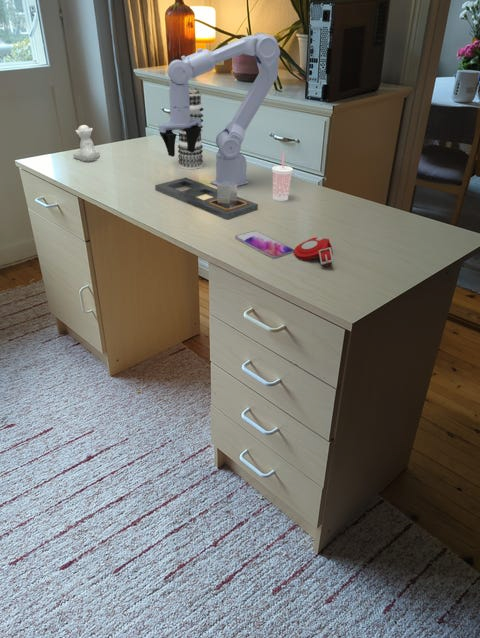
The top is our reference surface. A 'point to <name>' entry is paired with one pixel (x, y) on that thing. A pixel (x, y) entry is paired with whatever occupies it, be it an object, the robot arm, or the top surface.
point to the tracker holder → (315, 250)
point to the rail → (207, 204)
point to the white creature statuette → (86, 145)
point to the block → (227, 194)
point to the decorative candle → (185, 157)
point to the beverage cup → (281, 181)
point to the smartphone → (264, 244)
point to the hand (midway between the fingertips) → (181, 153)
